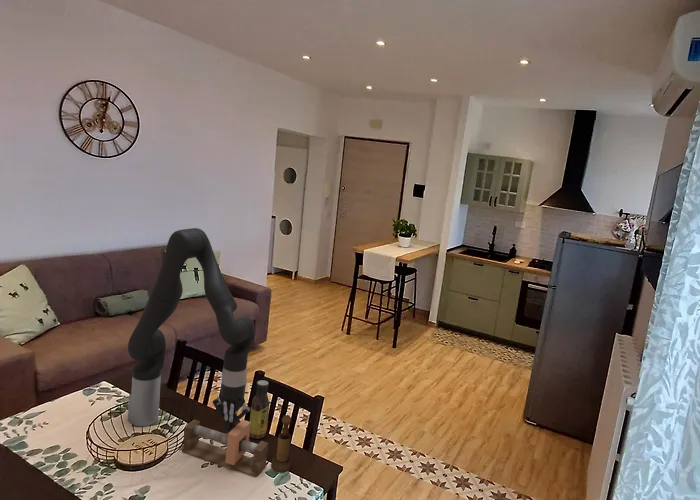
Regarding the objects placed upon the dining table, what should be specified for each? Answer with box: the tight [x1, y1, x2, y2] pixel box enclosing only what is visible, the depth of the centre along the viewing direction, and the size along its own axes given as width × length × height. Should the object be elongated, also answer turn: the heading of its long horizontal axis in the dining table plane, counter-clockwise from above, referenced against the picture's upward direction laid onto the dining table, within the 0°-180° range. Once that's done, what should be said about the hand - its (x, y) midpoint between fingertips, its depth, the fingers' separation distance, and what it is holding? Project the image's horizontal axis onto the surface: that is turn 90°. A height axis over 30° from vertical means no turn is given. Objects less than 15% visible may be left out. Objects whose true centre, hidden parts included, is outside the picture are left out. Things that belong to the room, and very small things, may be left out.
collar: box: [225, 419, 251, 465], centre depth 153 cm, size 3×9×10 cm, turn 163°
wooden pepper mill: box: [270, 414, 293, 474], centre depth 153 cm, size 7×6×18 cm
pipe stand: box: [181, 419, 269, 478], centre depth 154 cm, size 27×7×9 cm, turn 73°
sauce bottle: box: [249, 379, 270, 440], centre depth 169 cm, size 7×6×20 cm
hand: (229, 430), depth 153 cm, fingers closed
